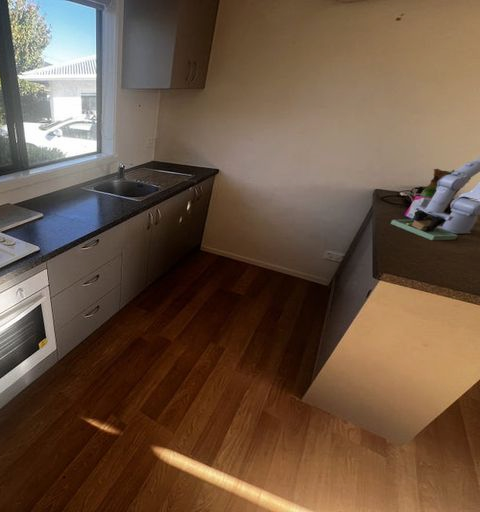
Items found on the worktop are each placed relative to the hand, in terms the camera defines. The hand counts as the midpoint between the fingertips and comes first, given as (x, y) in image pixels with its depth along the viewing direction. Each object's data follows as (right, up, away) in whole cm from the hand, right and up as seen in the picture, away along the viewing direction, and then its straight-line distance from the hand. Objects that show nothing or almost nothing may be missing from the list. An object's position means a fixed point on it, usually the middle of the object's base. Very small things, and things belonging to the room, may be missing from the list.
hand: (422, 228), depth 140 cm
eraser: (0, 0, 0) cm, 0 cm away
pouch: (+24, +9, +20) cm, 32 cm away
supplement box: (+13, +7, +16) cm, 22 cm away
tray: (0, -1, +1) cm, 1 cm away
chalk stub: (0, +3, +5) cm, 5 cm away
